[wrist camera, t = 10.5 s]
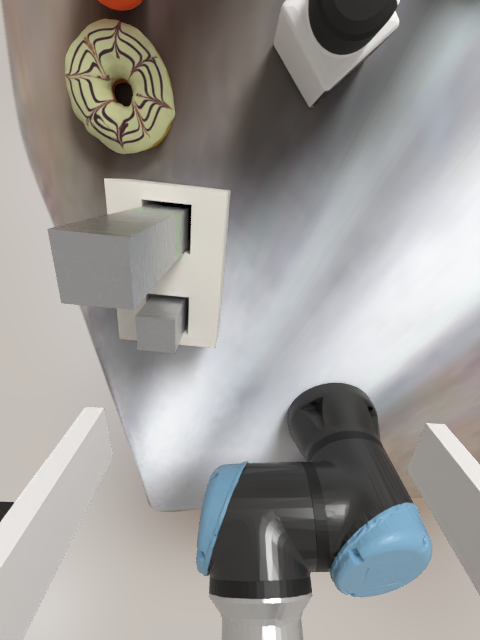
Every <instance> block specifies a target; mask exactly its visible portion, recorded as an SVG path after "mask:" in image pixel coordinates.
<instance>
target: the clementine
mask: <svg viewBox="0 0 480 640" xmlns="http://www.w3.org/2000/svg"><path fill="white" fill-rule="evenodd" d="M98 1H99V2H100V3H101V4H103V5H105V6H107V7H108V8H110V9H113V10H119V11H125V10H131V9H133V8H135V7H137V6H138V5H140V3H141V2H142V1H143V0H98Z"/></svg>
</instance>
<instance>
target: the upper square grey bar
mask: <svg viewBox="0 0 480 640" xmlns="http://www.w3.org/2000/svg"><path fill="white" fill-rule="evenodd" d="M188 232H189V208H181V207H172V206H163V205H154V204H150V205H145V206H141V207H137V208H133V209H129V210H125V211H120V212H116V213H112V214H108V215H104V216H100V217H95V218H91V219H87V220H83V221H79V222H75V223H70V224H66V225H62V226H58V227H54V228H50V229H48V233H49V239H50V244H51V250H52V255H53V260H54V266H55V270H56V276H57V282H58V287H59V292H60V298H61V302H62V303H66V304H76V305H86V306H96V307H107V308H117V309H127V310H134V309H135V308H136V307H137V306H138V305H139V303H140V302H141V301H142V300H143V299H144V298H145V296H146V295H147V294H148V293H149V292H150V291H151V289H152V288H153V287H154V286H155V285H156V284H157V282H158V281H159V280H160V279H161V278H162V277H163V275H164V274H165V273H166V272H167V271H168V270H169V268H170V267H171V266H172V265H173V264H174V262H175V261H176V260H177V259H178V258H179V257H180V255H181V254H182V253H183V252H184V251H185V250H186V248H187V247H188Z"/></svg>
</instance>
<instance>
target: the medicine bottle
mask: <svg viewBox="0 0 480 640" xmlns="http://www.w3.org/2000/svg"><path fill="white" fill-rule="evenodd" d="M399 2H400V0H286V1H285V2H284V3H283V5H282V6H281V11H280V16H279V20H278V25H277V29H276V34H275V39H274V47H275V49H276V50H277V52H278V54H279V56H280V57H281V59H282V61H283V63H284V64H285V66H286V68H287V70H288V71H289V73H290V75H291V77H292V78H293V80H294V82H295V84H296V85H297V87H298V89H299V91H300V92H301V94H302V96H303V98H304V99H305V101H306V103H307V105H308V106H309V107H310V108H312V107H314V106H315V105H316V104H317V103H318V102H319V101H320V100H322V99H323V98H324V97H325V96H326V95H327V94H328V93H329V92H330V91H331V90H333V89H334V88H335V87H336V86H337V85H338V84H339V83H340V82H341V81H342V80H344V79H345V78H346V77H347V76H348V75H349V74H350V73H351V72H352V71H353V70H355V69H356V68H357V67H358V66H359V65H360V64H361V63H362V62H363V61H364V60H366V59H367V58H368V57H369V56H370V55H371V54H372V53H373V52H374V51H375V50H376V49H377V48H378V47H379V46H380V45H381V44H382V43H383V42H384V41H385V40H386V39H387V38H388V37H389V36H390V35H391V34H392V33H393V32H394V31H395V30H396V28H397V27H398V25H399V19H398V16H397V14H396V11H395V10H396V8H397V6H398V4H399Z"/></svg>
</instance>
